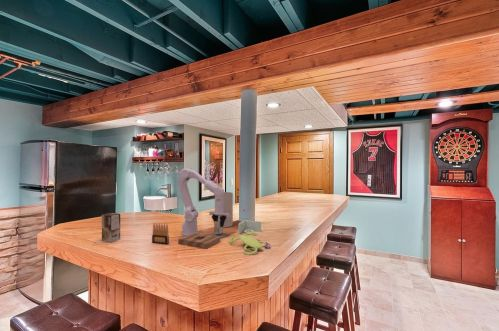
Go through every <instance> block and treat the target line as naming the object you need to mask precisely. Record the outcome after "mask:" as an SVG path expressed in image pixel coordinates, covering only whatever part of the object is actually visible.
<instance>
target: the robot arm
mask: <svg viewBox="0 0 499 331" xmlns="http://www.w3.org/2000/svg"><path fill="white" fill-rule="evenodd" d="M190 179H195V180H197V181H198V182H200V183H201V184H202V185H204V188H205V189H206V190H208V191H210V192H211V193H213V196H214V211H212V210H211V211H209V212H208V215H209V216H211V219H212V221H213V222H214V221H216V220H218V216H221V217H220V222H221V227H223V226H224V222H225V219H226V218H227V217H229V213H225V212H223V210H224V199H223V194H224V192H225V189H224V188H223V187H221V186H220V185H217V184H216V183H215V181H214V180H208V179H206V178H204V177H203V176H202V175H201V174H200V173H199V172H197V171H196V170H194V169H192V168H181V170H180V172H179V173H178V179H177V180H178V181H177V183H178V184H177V185H178V188H179V191H180V194H181V198H182V202H183V204H184V212H183V213H184V221H183V222H182V223H181V224H182V225H181V226H182V227H181V233H180V234H181V236H187V235H189V234H192V233H198V234H201V233H200V232H198V219H197V218H198V217H199V212H198V211H197V209H196V207H195V206H194V205H193V201H192V198H191V194H190V190H189V187H188V182H189V180H190Z"/></svg>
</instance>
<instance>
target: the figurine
mask: <svg viewBox="0 0 499 331" xmlns="http://www.w3.org/2000/svg"><path fill="white" fill-rule="evenodd" d="M252 236H253V237H252ZM256 236H258V232H257V231H254V232H246V234H245V233H243V235H240V236H239V237H237V238H236V237H235V235H232V236H231V237H230V239H229V240H228V242H227V243H228V244H232V243H234V242H237V241H239V240H240V241H241V242H242V243H243V244H244V247H243V253H244V255H247V256H252V255H255V254H256V253H257V252H258V250H259V249H261V248H262V247H263V245H262V244H264V247H265V248H267V249H269V248H270V245H271V244H270V243H268V242H267V241H261V240H260V241H258V240H257V239H255V238H254V237H256ZM247 247H250V248H247ZM250 250H252V252H251V251H250ZM247 251H250V252H247Z"/></svg>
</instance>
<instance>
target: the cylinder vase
mask: <svg viewBox="0 0 499 331" xmlns="http://www.w3.org/2000/svg"><path fill="white" fill-rule="evenodd" d="M233 194H234V193H233V192H228V191H227V192H226V191H224V194H223V199H224V210H223V212H225V213H229V217H227V218H226V219H225V222H224V226H223V229H224V228H230V227H232V226H233V225H234V220H233V219H234V217H233V216H234V213H233V211H234V210H233V208H234V207H233V205H234V203H233V201H234V200H233V199H234V198H233V197H234V196H233ZM220 217H221V216H218V220H220Z"/></svg>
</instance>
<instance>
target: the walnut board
mask: <svg viewBox="0 0 499 331" xmlns="http://www.w3.org/2000/svg"><path fill="white" fill-rule="evenodd" d="M198 233H199V232H198ZM198 233H192V234H189V235H183V236H182V237H179V238H178V239H177V244H178V245H181V246H182V245H183V246H187V247H193V248H199V249H203V250H207V249H209V248H211V247H213V246H215V245H217V244H219V243H220V242H221V238H220V237H217V236H211V234H203V233H200V234H198Z"/></svg>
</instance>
